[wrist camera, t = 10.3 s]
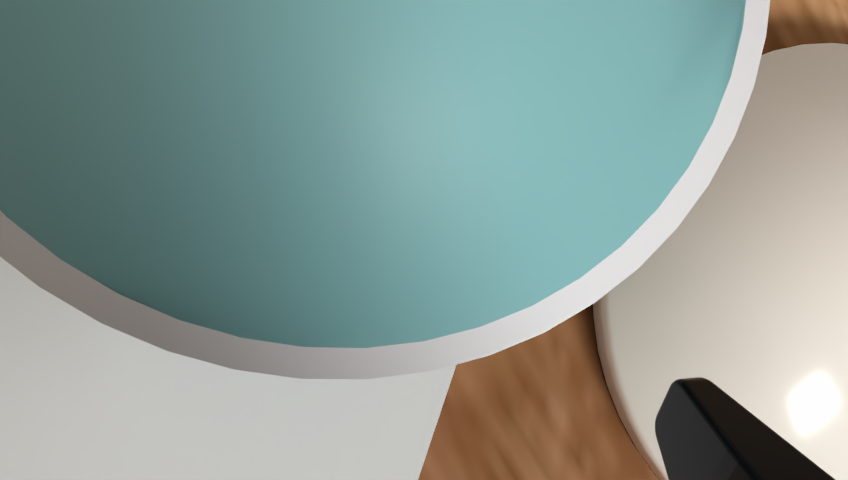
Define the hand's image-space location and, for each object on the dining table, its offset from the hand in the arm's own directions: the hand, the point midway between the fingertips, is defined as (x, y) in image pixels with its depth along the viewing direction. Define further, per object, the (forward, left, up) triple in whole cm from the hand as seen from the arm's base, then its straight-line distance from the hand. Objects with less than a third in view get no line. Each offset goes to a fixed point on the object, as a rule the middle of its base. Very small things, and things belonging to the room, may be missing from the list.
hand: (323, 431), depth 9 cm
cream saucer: (+6, -12, -8) cm, 16 cm away
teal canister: (+4, +2, -8) cm, 9 cm away
